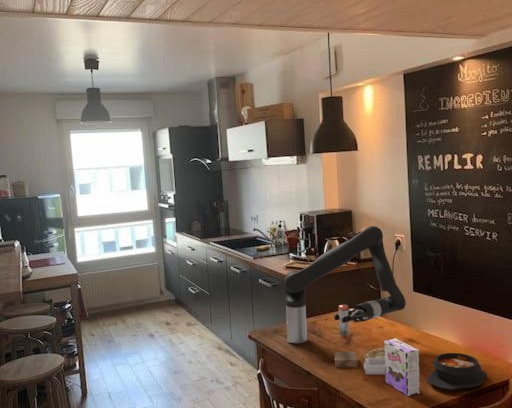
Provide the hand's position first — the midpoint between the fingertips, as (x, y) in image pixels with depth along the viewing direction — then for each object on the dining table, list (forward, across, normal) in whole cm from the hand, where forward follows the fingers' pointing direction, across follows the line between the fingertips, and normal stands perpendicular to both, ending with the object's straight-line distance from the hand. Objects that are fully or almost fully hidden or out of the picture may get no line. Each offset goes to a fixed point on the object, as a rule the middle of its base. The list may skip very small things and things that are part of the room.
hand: (338, 318), depth 215 cm
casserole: (-21, +40, +19) cm, 50 cm away
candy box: (-2, +31, +20) cm, 37 cm away
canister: (-3, 0, +7) cm, 8 cm away
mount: (-3, 0, +20) cm, 20 cm away
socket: (-8, +13, +19) cm, 25 cm away
